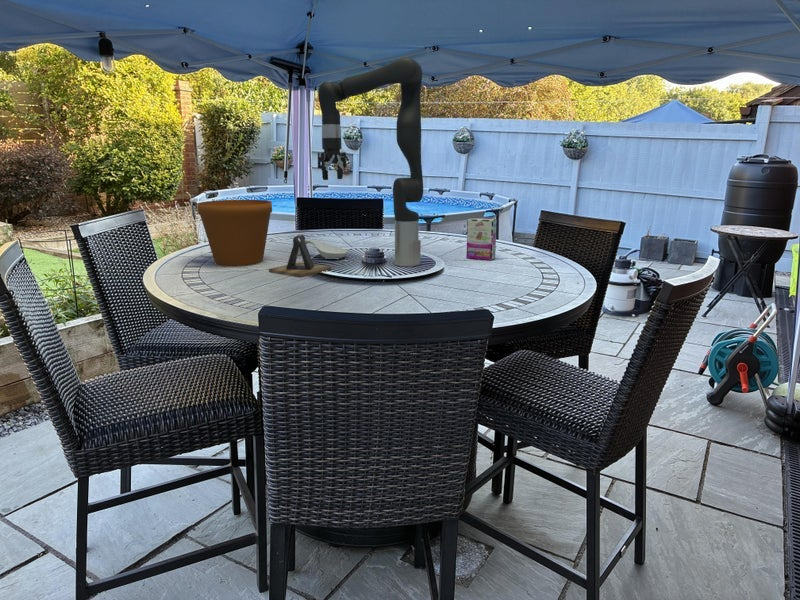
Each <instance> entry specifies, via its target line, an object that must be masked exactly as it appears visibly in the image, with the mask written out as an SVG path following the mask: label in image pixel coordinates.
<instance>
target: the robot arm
mask: <svg viewBox="0 0 800 600" xmlns="http://www.w3.org/2000/svg"><path fill="white" fill-rule="evenodd" d="M422 80H423V68H422V66H421V64H420V63H419V62H418V61H417V60H415V59H413V58H411V57H407V56H406V57H405V56H404V57H401V58H399V59H395V60H394V61H392V62H390V63H388V64H385V65H384V66H383V65H382V66H381V67H378V68H374V69H373V70H372V69H371V70H369V71H366V72H362V73H359V74H354V75H351V76H347V77H345V78H343V79H342V80H341V81H338V82H331V81H323V82H322V83H320V84H319V87H318V89H317V90H318V91H317V97H318V103H319V107H320V111H321V147H322V150H323V152H320V151H319V152H317V168H318V169H320V170H321V178H322V180H323V181H328V180H329V170H328V169H329V167H330V166H332V165H335V167H336V168H337V170H336V171H337V172H336V175H337V177H336V178H337V180H343V177H344V175H343V174H344V172H343V171H344V169H345V168H347V166H348V165H347V153H346V152H342V151H341V150H342V148H343V147H342V129H341V112H340V109H338V108H337V103H338V102H341V101H345V100H347V99H349V98H351V97H356V96H360V95H364V94H367V93H370V92H372V91H374V90H375V89H378V88H380V87H383V86H387V85H393V84H394V85H395V84H400V94H401V95H400V96H401V97H400V98H401V99H400V100H401V101H400V106H399V107H400V108H399V110H398V115H397V119H396V143H397V145H398V149H400V151H401V153H402V154H403V156H404V158H405V160H406V162H407V164H408V166H409V173H410V177H397V178H395V180H394V181H393V184H392V198H393V199H392V201H393V203H392V204H393V215H394V265H395V266H399V267H410V268H411V267H416V266H419V265H421V249H422V248H421V247H422V246H421V245H422V244H421V243H422V241H421V240H420V239H419V230H420V229H419V220H420V219H419V218H420V217H419V213H418V212H416V211H413V210H411V209H409V208H408V206H407V203H419V202H421V200H422V199H423V195H424V178H423V177H424V175H423V168H422V167H423V165H422V111H421V109H422V108H421V91H422V84H423V83H422Z"/></svg>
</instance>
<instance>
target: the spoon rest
mask: <svg viewBox="0 0 800 600" xmlns="http://www.w3.org/2000/svg"><path fill="white" fill-rule="evenodd" d="M305 244H306V245H307V244H312V245H313V246H314V247H315V248H316V250H317V252H318V253H319V254H320V256H321V257H322V258H324V257H325V258H341V259H343V258H344V257H345V256H347V254H348V253H349V251H348V249H346V248H342V247H338V246H335V245H333V244H329V243H327V242H323V241H321V240H317V239H307V240H306V239H305ZM298 256H302V255H301V252H300V248H299V250H298V255H297V257H298ZM342 257H343V258H342ZM325 258H324V259H325Z"/></svg>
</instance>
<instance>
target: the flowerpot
mask: <svg viewBox="0 0 800 600" xmlns="http://www.w3.org/2000/svg"><path fill="white" fill-rule="evenodd" d="M196 205H197V206H196V207H197V214H198V215H199V216H200V219H201V222H202V226H203V229H204V232H205V235H206V238H207V242H208V244H209V245H208V246H209V248H210V251H211V254H212V257H213V261H214V264H215V263H216V264H215V265H217V266H220V265H221V267H246V266H255V265H258V264H261V263H263V262H264V256H265V250H266V249H265V248H266V245H267V244H266V243H267V237H268V231H269V225H270V219H271V213H273V204H272V201H270V200H264V199H263V200H260V199H223V200H210V201H209V200H207V201H201V202H198V203H197V204H196Z"/></svg>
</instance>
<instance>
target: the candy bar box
mask: <svg viewBox="0 0 800 600" xmlns="http://www.w3.org/2000/svg"><path fill="white" fill-rule="evenodd" d="M466 223H467V224H466V228H467V229H466V259H469V260H480V261H490V262H492V261H493V260H496V252H497V251H496V249H497V246H496V245H497V244H496V243H497V219H493V218H468V219H467V220H466Z"/></svg>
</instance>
